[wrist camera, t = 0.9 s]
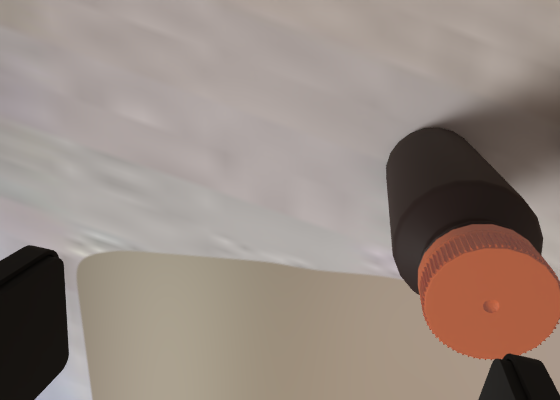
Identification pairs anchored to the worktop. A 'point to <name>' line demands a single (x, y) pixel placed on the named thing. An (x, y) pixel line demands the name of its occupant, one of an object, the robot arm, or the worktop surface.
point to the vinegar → (468, 248)
